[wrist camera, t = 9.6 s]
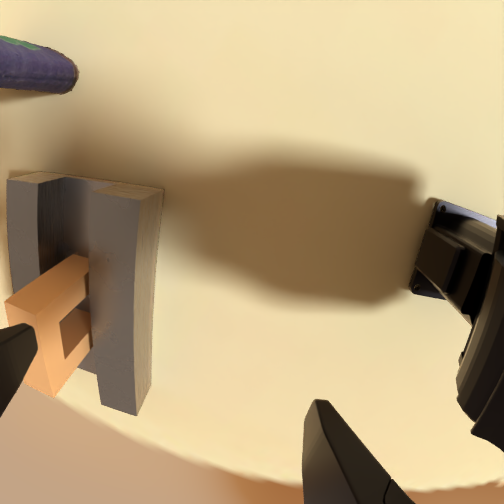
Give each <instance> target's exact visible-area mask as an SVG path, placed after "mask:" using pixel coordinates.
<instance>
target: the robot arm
mask: <svg viewBox="0 0 504 504" xmlns="http://www.w3.org/2000/svg"><path fill="white" fill-rule="evenodd" d="M442 205H443V210H442V211H440V207H441V206H442ZM496 227H497V229H496ZM415 266H416V267H415V270H414V272H413V275H412V278H411V281H410V283H409V289H410V291H411V292H412V293H413V294H417V295H422V296H427V297H433V298H438V299H443V300H447V301H448V302H449V303H450V304H451V305H452V306H453V307H454V308H455V309H456V310H457V311H458V312H459V313H460V314H461V315H462V316H463V317H464V318H465V320H466V321H467V322H468V323H469V324H470V325H471V326H472V329H471V332H470V335H469V338H468V340H467V343H466V346H465V348H464V351H463V352H461V355H460V357H459V360H458V361H459V366H460V367H459V370H458V374H457V377H456V383H457V390H458V393H459V394H458V396H457V401H458V403H459V405H460V406H461V408H462V410H463V411H464V412H465V414H466V415H467V416H468V417H469V418H470V419H471V420H472V421H473V422H475V424H474V426H473V428H472V429H471V434H472V435H474V436H477V437H480V438H482V439H485V440H487V441H489V442H491V443H492V444H494V445H495V446H497V447H498V448H500V449H501V450H502V451H503V452H504V216H503V215H497V220H493V219H491V218H488V217H486V216H483V215H481V214H478V213H476V212H473V211H470V210H468V209H465V208H462V207H460V206H457V205H454V204H451V203H449V202H446V201H443V200H439V201H437V202H436V203H435V206H434V209H433V213H432V216H431V220H430V223H429V227H428V229H427V230H426V232H425V235H424V238H423V241H422V244H421V247H420V251H419V254H418V257H417V259H416V262H415ZM417 284H418V287H417V288H414V287H415V285H417ZM37 351H38V344H37V339H36V334H35V329H34V327H33V326H31V325H29V324H26V323H20V324H17V325H14V326H10V327H7V328H4V329H0V417H1V416H2V414H3V412H4V411H5V409H6V407H7V406H8V404H9V402H10V401H11V399H12V397H13V396H14V394H15V393H16V391H17V390H18V388H19V386H20V384H21V382H22V381H23V379H24V377H25V375H26V373H27V371H28V369H29V367H30V365H31V363H32V361H33V359H34V357H35V356H36V354H37ZM302 478H303V492H304V504H415V503H414V502H413V501H412V500H411V499H410V498H409V497H408V496H407V494H406V493H405V492H404V491H403V490H402V489H401V488H400V487H399V486H398V484H397V483H396V482H395V481H394V480H393V479H391V476H390V475H389V474H388V473H387V472H386V470H385V469H384V468H383V467H382V466H381V464H380V463H379V462H378V461H377V460H376V458H375V457H374V456H373V455H372V454H371V452H370V451H369V450H368V449H367V448H366V446H365V445H364V444H363V443H362V442H361V440H360V439H359V438H358V437H357V435H356V434H355V433H354V432H353V431H352V429H351V428H350V427H349V426H348V424H347V423H346V422H345V421H344V419H343V418H342V417H341V416H340V415H339V413H338V412H337V411H336V410H335V408H334V407H333V406H332V405H331V403H330V402H329V401H328V400H321V399H315V400H314V401H313V402H312V404H311V406H310V408H309V410H308V413H307V415H306V417H305V421H304V436H303V453H302Z"/></svg>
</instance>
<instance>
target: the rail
mask: <svg viewBox="0 0 504 504" xmlns="http://www.w3.org/2000/svg"><path fill="white" fill-rule="evenodd" d="M163 196H164V189H159V188H153V187H147V186H141V185H134V184H128V183H122V182H115V181H108V180H102V179H95V178H88V177H80V176H73V175H66V174H58V173H50V172H42V171H41V172H36V173H32V174H27V175H23V176H18V177H14V178H10V179H7V232H8V247H9V259H10V268H11V277H12V284H13V291H14V294H15V293H17V292H18V291H19V290H21V289H22V288H24V287H25V286H26V285H28V284H29V283H31V282H32V281H33V280H35V279H36V278H38V277H39V276H41V275H42V274H44V273H45V272H47V271H48V270H50V269H51V268H53V267H54V266H56V265H57V264H59V263H60V262H62V261H63V260H65V259H66V258H68V257H69V256H71V255H72V254H75V255H78V256H82V257H86V258H89V294H88V295H87V296H86V297H85V298H84V299H83V300H82V301H81V302H80V303H79V304H78V305H77V306H76V307H75V308H77V309H80V310H83V311H86V312H89V313H90V314H91V328H92V339H93V347H92V348H91V350H90V351H89V352H88V354H87V355H86V356H85V357H84V359H83V360H82V361H81V363H80V364H79V365H78V368H80V369H83V370H86V371H88V372H91V373H94V374H97V381H98V387H99V394H100V400H101V404H102V405H104V406H107V407H110V408H113V409H116V410H119V411H122V412H125V413H128V414H131V415H134V416H137V415H138V413H139V410H140V408H141V406H142V404H143V402H144V399H145V397H146V395H147V393H148V391H149V389H150V386H151V352H152V322H153V302H154V286H155V273H156V261H157V250H158V239H159V230H160V221H161V212H162V204H163ZM75 308H74V309H75ZM74 309H72V310H71V311H70V312H69V313H68V314H67V315H66V316H65V317H64V318H63V319H65V318H66V317H67V316H68V315H69V314H70V313H71V312H72V311H73V310H74ZM63 319H62V320H63ZM62 320H61V321H62ZM61 321H60V322H61ZM60 322H59V323H60Z"/></svg>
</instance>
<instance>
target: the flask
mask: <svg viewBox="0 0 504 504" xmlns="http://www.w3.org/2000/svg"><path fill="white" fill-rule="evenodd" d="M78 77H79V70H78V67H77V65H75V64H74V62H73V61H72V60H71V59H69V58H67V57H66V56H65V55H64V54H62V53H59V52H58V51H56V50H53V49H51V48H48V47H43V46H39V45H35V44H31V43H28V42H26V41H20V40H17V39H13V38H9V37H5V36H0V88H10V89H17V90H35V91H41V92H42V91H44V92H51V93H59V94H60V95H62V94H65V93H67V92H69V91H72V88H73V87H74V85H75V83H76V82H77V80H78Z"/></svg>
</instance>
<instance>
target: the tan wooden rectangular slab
mask: <svg viewBox="0 0 504 504" xmlns="http://www.w3.org/2000/svg"><path fill="white" fill-rule="evenodd" d="M88 294H89V258H86V257H82V256H78V255H75V254H72V255H71V256H69V257H68V258H66V259H65V260H63V261H62V262H60V263H59V264H57V265H56V266H54V267H53V268H51V269H50V270H48V271H47V272H45V273H44V274H42V275H41V276H39V277H38V278H36V279H35V280H33V281H32V282H31V283H29V284H28V285H26V286H25V287H24V288H22V289H21V290H19V291H18V292H17V293H15V294H14V295H12V296H11V297H10V298H8V299H7V300H6V301H4V303H5V308H6V314H7V319H8V323H9V327H10V326H14V325H17V324H20V323H26V324H29V325H31V326H33V327H34V329H35V334H36V339H37V344H38V351H37V354H36V356H35V357H34V359H33V361H32V363H31V365H30V367H29V369H28V371H27V373H26V375H25V377H24V379H23V380H24V383H25V384H27V385H28V386H31V387H32V388H34V389H36V390H38V391H40V392H42V393H44V394H46V395H48V396H51V397H53V398H54V397H55V396H56V395H57V393H58V392H59V391H60V389H61V388H62V386H63V385H64V384H65V382H66V381H67V380H68V378H69V377H70V376H71V374H72V373H73V372H74V370H75V369H76V368H77V367H78V365H79V364H80V363H81V361H82V360H83V359H84V357H85V356H86V355H87V354H88V352H89V351H90V350H91V348H92V347H93V339H92V328H91V314H90V313H89V312H86V311H83V310H80V309H77V308H75V307H76V306H77V305H78V304H79V303H80V302H81V301H82V300H83V299H84V298H85V297H86V296H87V295H88ZM74 308H75V309H74ZM72 309H74V310H73V311H72V312H71V313H70V314H69V315H68V316H67V317H66V318H65V319H63V318H64V317H65V316H66V315H67V314H68V313H69V312H70V311H71V310H72ZM62 319H63V320H62ZM61 320H62V321H61ZM60 321H61V322H60ZM59 322H60V323H59Z"/></svg>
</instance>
